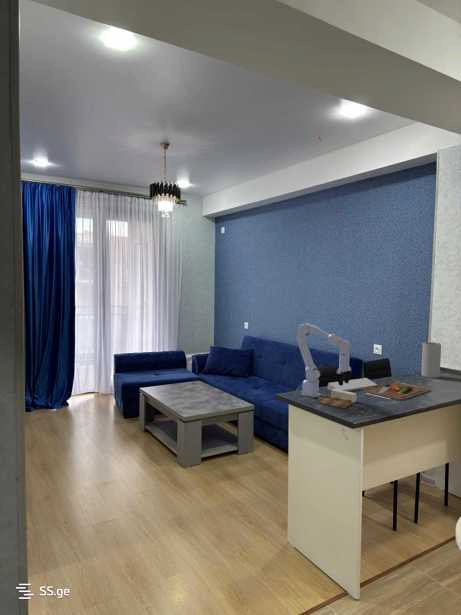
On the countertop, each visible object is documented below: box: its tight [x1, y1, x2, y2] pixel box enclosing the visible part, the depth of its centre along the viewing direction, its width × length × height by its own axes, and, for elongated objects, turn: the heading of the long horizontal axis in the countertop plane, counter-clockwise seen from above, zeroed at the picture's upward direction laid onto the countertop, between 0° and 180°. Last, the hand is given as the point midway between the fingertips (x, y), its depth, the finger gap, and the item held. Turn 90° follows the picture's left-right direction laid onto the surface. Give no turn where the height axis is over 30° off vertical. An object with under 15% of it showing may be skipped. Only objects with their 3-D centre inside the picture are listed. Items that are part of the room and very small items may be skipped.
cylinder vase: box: [421, 341, 442, 379], centre depth 307 cm, size 12×12×25 cm
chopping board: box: [362, 381, 431, 401], centre depth 262 cm, size 45×27×3 cm, turn 130°
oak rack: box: [317, 394, 352, 409], centre depth 232 cm, size 16×9×3 cm, turn 49°
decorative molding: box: [326, 377, 378, 392], centre depth 268 cm, size 34×5×10 cm
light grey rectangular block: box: [330, 389, 357, 404], centre depth 240 cm, size 14×4×5 cm, turn 45°
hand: (343, 384), depth 239 cm, fingers open, 7 cm apart
